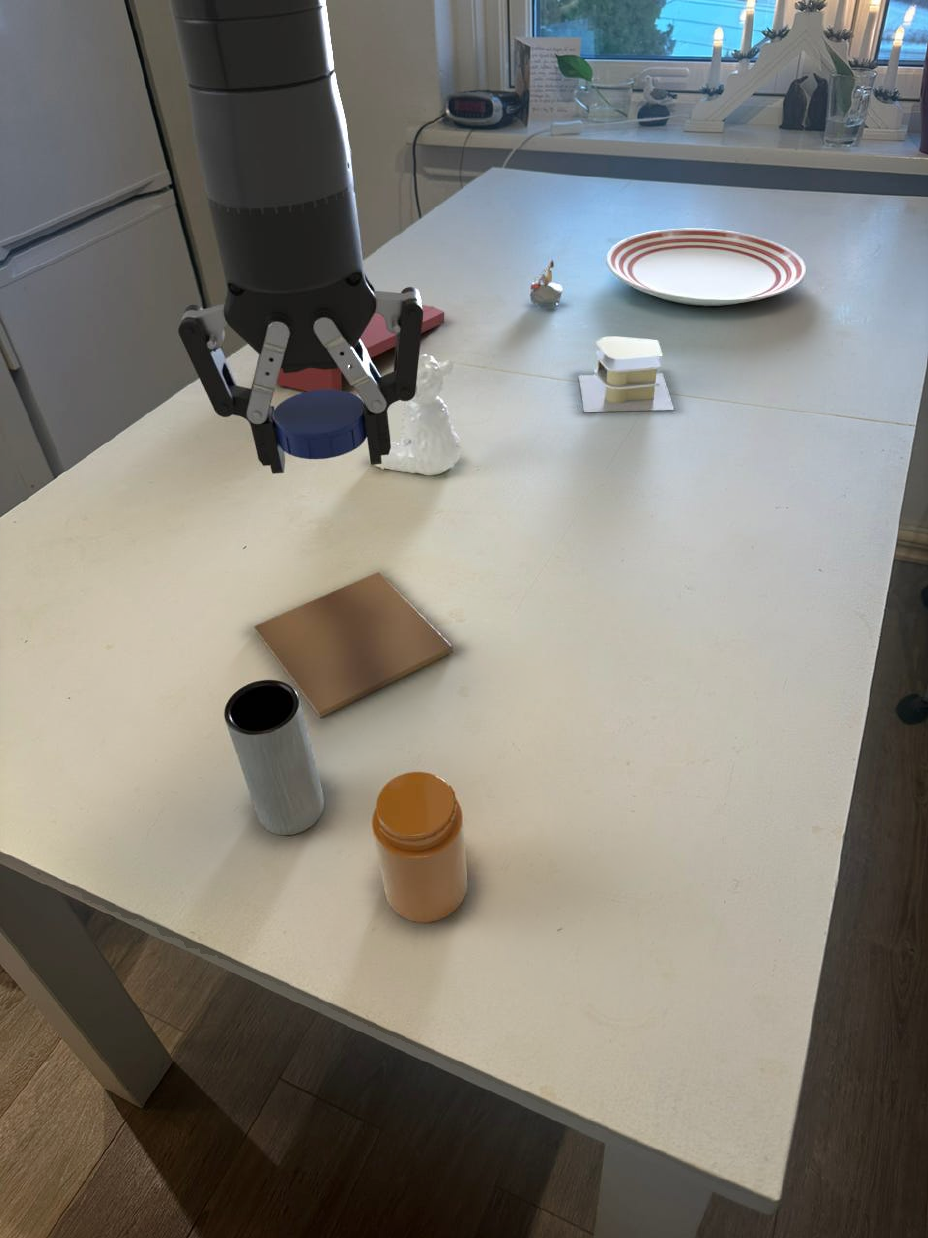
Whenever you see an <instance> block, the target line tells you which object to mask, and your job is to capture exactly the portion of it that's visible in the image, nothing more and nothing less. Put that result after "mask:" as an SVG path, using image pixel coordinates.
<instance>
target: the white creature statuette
mask: <svg viewBox="0 0 928 1238" xmlns="http://www.w3.org/2000/svg"><path fill="white" fill-rule="evenodd" d="M453 366H454V364H453V361H452V359H445V360H441V361H439V362H438V361H437V360H436V359H435V358H434V356H432V355H430V354H429V355H427V354H426V353H423V354H419V361H418V371H417V381H416V391H415V396H414V397H413V398H412V399H411V400H409V401H405V402H404V408H403V413H402V416H403V418H402V420H401V421H402V425H403V426H402V427H401V430H402V433H401V435H400V439H401V440H400V443H398V442H395V441H391V449H390V452H389V455H381V459H382V464H376V465H374V466H375V467H376V468H377V467H378V468H380V469H381V470H391V471H397V472H402V473H409V474H410V473H411V474H420V475H425V476H435V475H441V474H443V473H445V472H447V471H448V470H450V469H453V468H454V467H455V464H456V463H458V462H459V459H460V457H461V453H460V452H461V451H460V450H461V449H462V447H461V444H462V443H461V442H462V441H461V440H460V438H459V435H458V434H457V433H456V430H455V429H456V428H454V426H453V424H452V422H451V420H450V411H449V410H448V406H447V405H446V404H445V401H444V400H442V399H441V398H440V396H439V395H440V393H441V391H442V390H443V387H444V384H445V380H444V378H445V377H447V376H449V375H450V374H451V373H452V371H453V369H454V367H453ZM368 459H369V461H370V455H369V454H368Z"/></svg>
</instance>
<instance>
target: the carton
mask: <svg viewBox="0 0 928 1238" xmlns="http://www.w3.org/2000/svg"><path fill="white" fill-rule="evenodd" d="M422 309H423V322H422V332H421V334H423V333H425V332H427V331H429V330H431V329H433V328H435V327H437V326H439V325H441V324H444V323H445V311H443V310H441V309H439V308H436V307H435V306H432V305H425V304H422ZM396 337H397V334H393V333H391V332H389V331H388V329H387V328H386V322H385V319H384V317H383V316H382V315H380V314H378V313H375V314H374V316H373V317H372V319H371V321H370V322H369V324H368V326H367V328H366V329H365V331H364V333H363V334H362V336H361V338H360V340H361V341H362V343H363V345H364V346H365V348H366V350H367V352H368V354H369V357H370V359H372V358H374V357H376V356H378V355H380V354H382V353H384V352H386V351H388V350H391V349H392V348H394V347H396ZM277 385H278V386H281V387H285V388H291V389H295V390H298V391H303V392H308V391H314V390H325V389H331V390H341V391H343V381H342V372H341V370H340V369H339V367H338V365H337V369H326V370H323V369H316V368H307V369H304V370H301V371H299V372H292V373H284V372H283V369H280V372H279V375H278V379H277V383H276V386H277Z"/></svg>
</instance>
